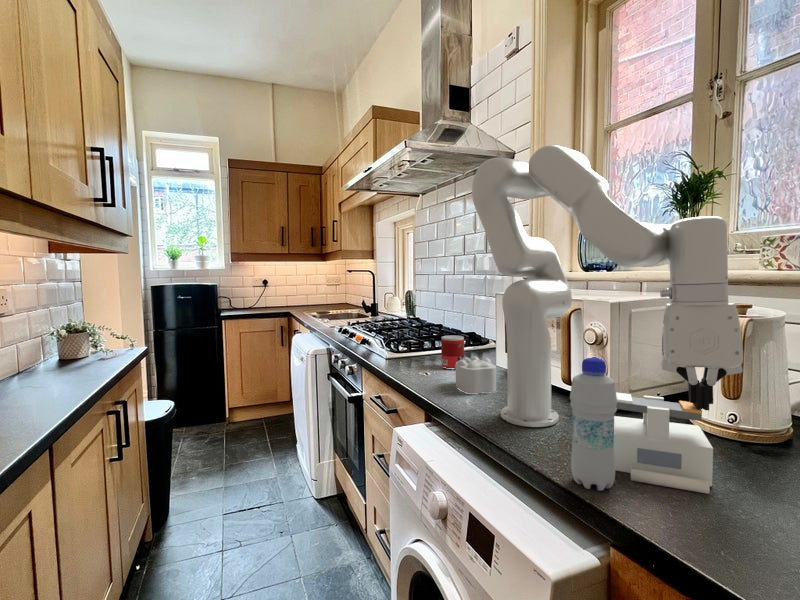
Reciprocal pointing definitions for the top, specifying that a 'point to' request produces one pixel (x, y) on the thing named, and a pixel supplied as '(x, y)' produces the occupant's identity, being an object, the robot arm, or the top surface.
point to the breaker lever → (640, 405)
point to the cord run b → (670, 481)
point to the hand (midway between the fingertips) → (700, 407)
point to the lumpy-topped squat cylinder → (475, 375)
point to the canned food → (452, 350)
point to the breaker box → (662, 445)
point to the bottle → (593, 425)
